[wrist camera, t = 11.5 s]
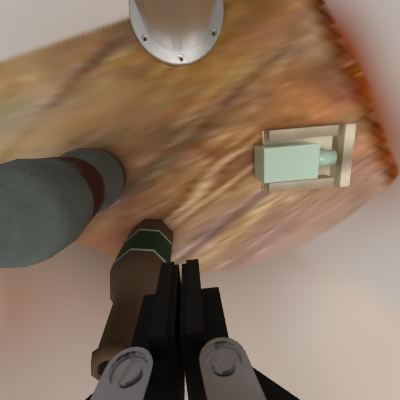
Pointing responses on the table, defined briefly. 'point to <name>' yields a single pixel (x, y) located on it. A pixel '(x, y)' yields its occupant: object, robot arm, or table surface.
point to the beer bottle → (131, 287)
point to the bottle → (290, 161)
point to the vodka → (52, 202)
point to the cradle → (328, 139)
